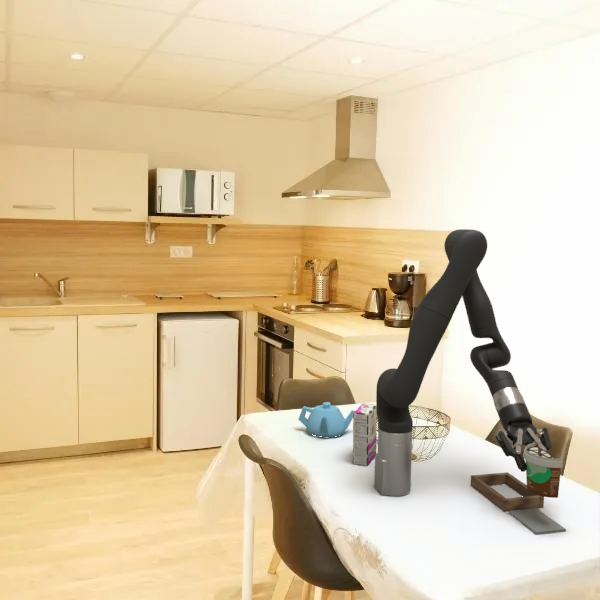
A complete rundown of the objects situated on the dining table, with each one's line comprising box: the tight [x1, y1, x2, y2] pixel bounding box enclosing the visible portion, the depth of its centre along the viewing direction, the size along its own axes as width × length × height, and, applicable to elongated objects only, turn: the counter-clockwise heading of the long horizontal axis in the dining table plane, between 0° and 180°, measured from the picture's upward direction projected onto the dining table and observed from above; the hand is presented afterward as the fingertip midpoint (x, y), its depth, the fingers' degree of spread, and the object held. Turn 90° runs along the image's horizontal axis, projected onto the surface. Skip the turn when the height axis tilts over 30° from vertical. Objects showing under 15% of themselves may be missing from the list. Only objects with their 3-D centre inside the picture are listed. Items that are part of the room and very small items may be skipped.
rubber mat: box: [507, 508, 567, 536], centre depth 161 cm, size 8×12×1 cm, turn 14°
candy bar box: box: [352, 402, 378, 467], centre depth 202 cm, size 11×5×16 cm, turn 160°
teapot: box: [298, 401, 356, 438], centre depth 229 cm, size 15×15×11 cm
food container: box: [522, 442, 563, 499], centre depth 160 cm, size 12×6×10 cm, turn 7°
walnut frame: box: [470, 472, 545, 513], centre depth 176 cm, size 11×17×3 cm, turn 14°
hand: (535, 469), depth 161 cm, fingers closed on food container, 5 cm apart
